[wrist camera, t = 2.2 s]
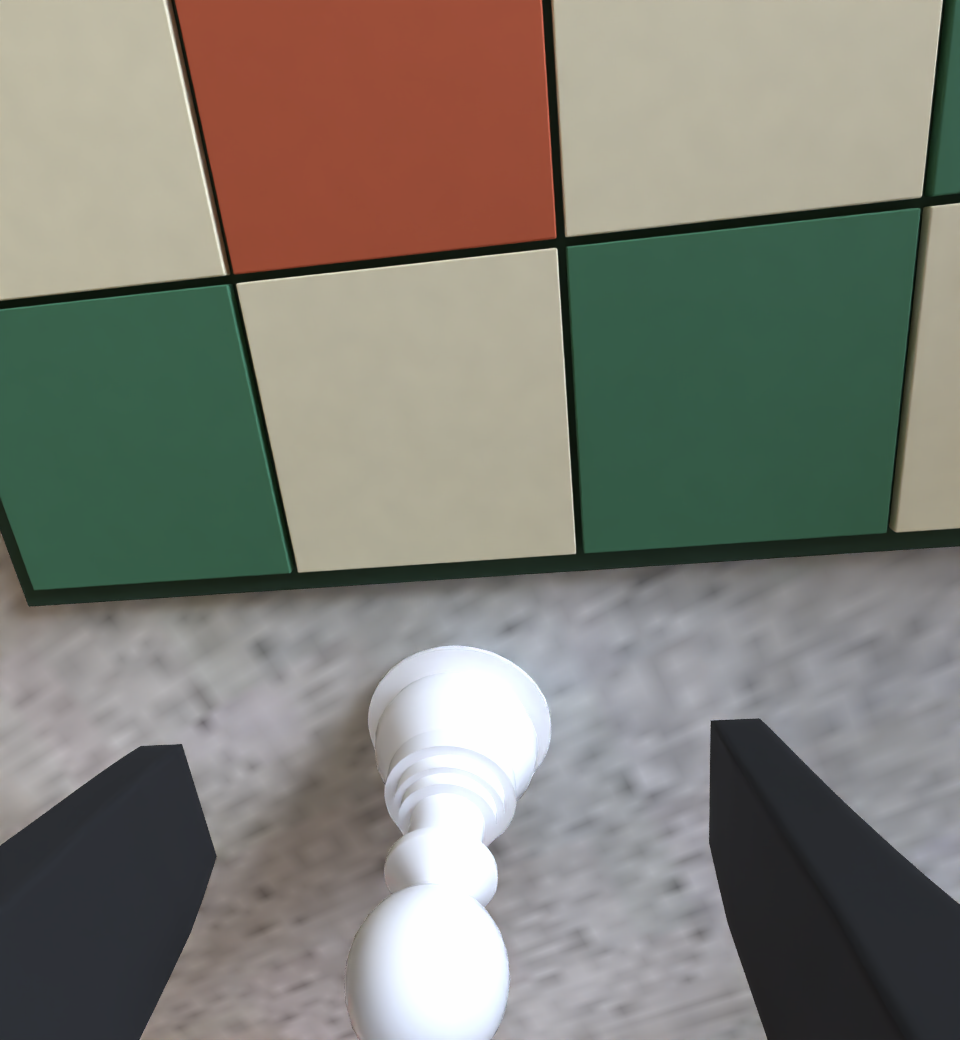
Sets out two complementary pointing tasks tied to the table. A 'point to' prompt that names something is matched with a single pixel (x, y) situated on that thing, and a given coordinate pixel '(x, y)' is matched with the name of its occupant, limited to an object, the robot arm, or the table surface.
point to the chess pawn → (444, 843)
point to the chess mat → (472, 288)
